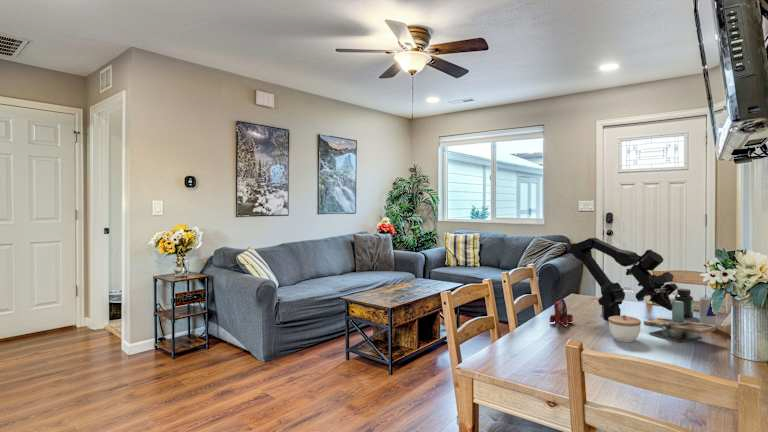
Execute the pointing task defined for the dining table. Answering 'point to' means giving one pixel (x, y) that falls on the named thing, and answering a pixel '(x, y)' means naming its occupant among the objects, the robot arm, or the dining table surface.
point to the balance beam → (682, 326)
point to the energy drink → (706, 311)
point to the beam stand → (675, 334)
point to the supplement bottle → (685, 301)
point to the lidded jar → (624, 328)
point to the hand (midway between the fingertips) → (672, 310)
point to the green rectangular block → (677, 313)
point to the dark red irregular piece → (561, 313)
